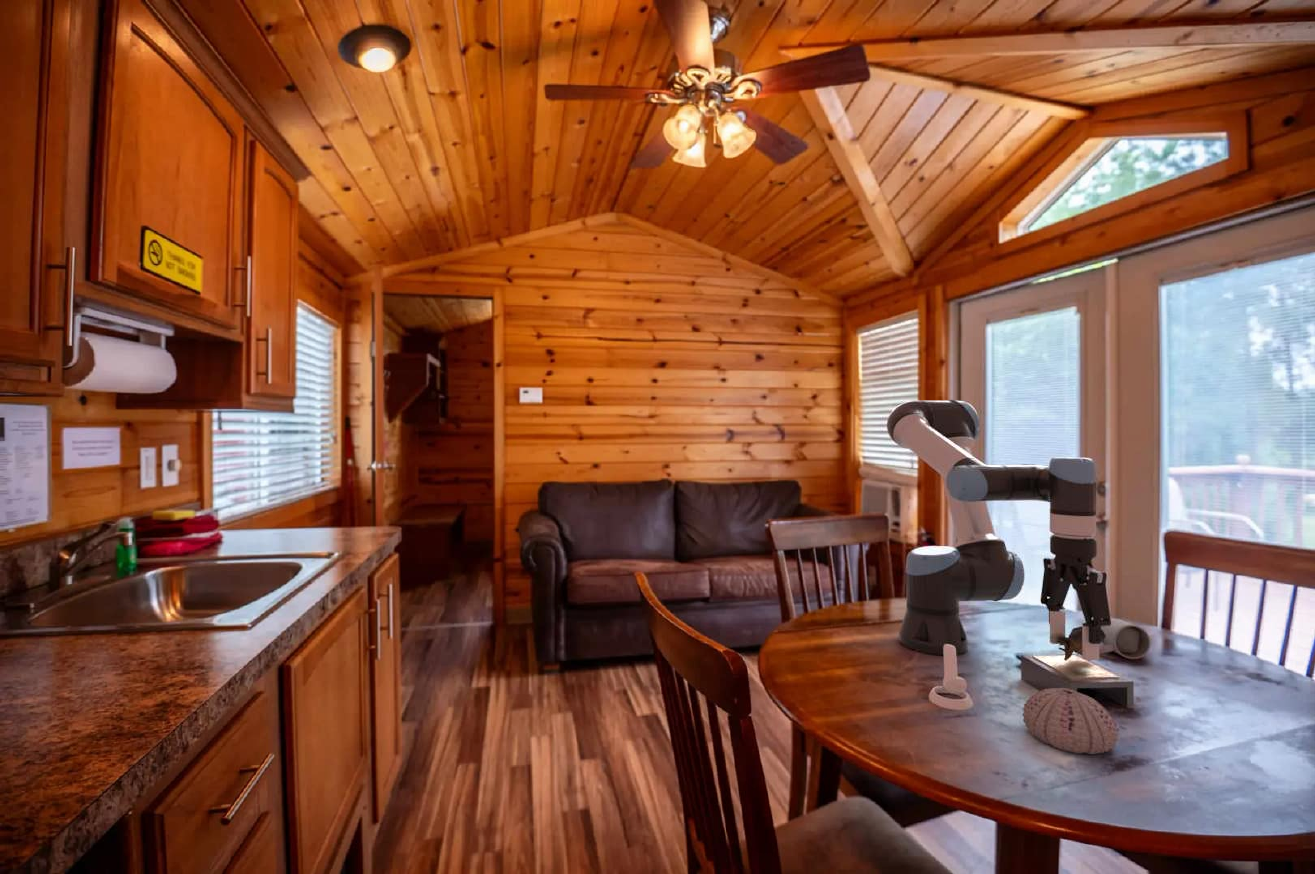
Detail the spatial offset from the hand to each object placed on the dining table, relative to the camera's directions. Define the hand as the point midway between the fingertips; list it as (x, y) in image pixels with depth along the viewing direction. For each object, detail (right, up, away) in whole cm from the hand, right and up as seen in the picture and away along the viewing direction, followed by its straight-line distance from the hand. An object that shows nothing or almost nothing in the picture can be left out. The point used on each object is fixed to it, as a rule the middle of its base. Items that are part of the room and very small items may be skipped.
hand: (1073, 650), depth 116 cm
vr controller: (-26, -9, -3) cm, 27 cm away
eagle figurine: (+1, -2, +1) cm, 3 cm away
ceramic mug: (+25, -9, +21) cm, 34 cm away
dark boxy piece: (0, -8, 0) cm, 8 cm away
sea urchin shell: (-13, -9, -18) cm, 24 cm away
